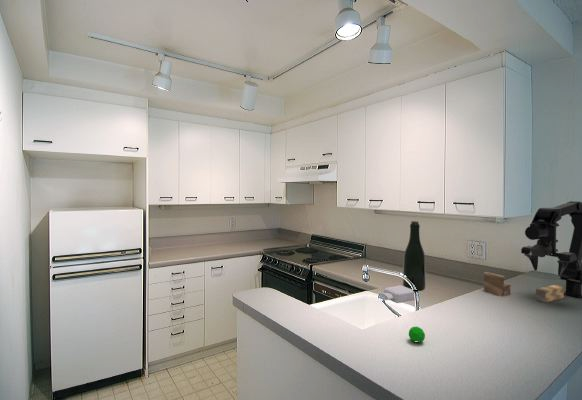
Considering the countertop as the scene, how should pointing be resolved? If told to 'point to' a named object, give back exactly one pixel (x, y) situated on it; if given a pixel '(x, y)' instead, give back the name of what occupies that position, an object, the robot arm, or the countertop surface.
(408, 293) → the charger
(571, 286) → the robot arm
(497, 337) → the countertop surface
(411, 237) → the dark wine bottle
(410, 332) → the green ball
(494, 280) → the notched wooden block
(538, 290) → the oak rail
